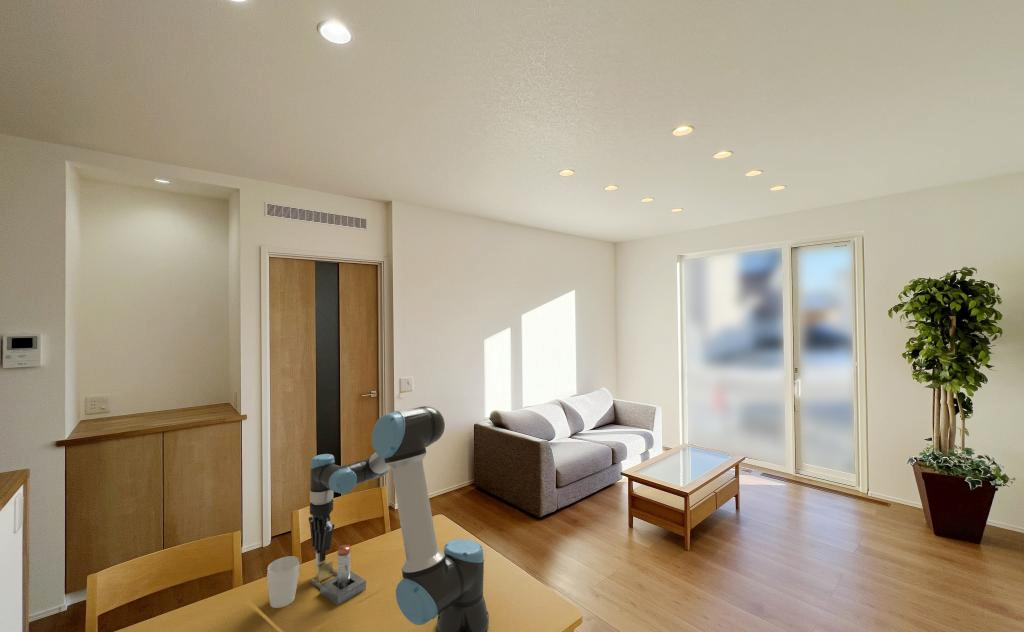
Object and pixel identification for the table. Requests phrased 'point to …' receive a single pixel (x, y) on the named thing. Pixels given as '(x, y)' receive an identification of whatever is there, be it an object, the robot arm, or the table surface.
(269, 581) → the cup
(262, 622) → the table surface
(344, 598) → the block
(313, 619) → the table surface
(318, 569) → the keeper
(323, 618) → the table surface
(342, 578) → the pin
